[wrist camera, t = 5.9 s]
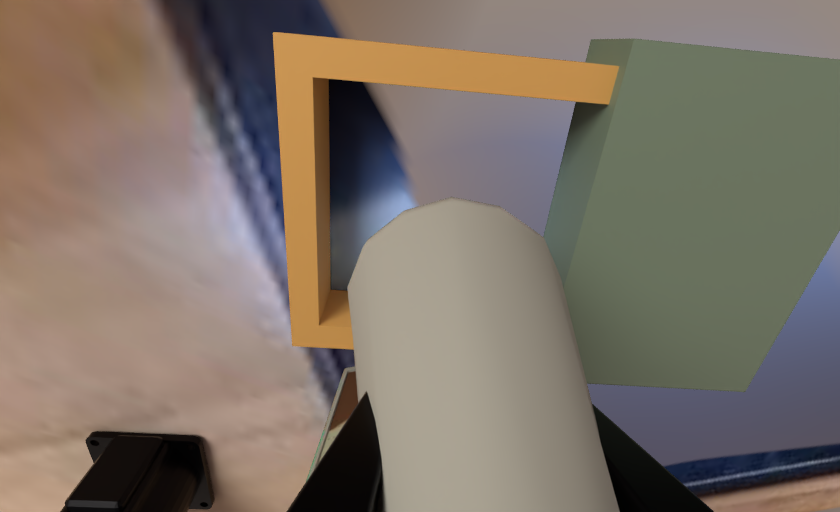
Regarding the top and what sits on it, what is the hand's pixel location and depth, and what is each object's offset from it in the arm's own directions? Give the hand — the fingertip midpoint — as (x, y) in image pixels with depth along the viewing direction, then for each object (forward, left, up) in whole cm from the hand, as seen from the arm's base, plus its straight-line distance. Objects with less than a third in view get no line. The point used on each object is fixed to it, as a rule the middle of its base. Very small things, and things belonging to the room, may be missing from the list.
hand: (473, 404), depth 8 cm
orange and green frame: (0, -5, -12) cm, 13 cm away
